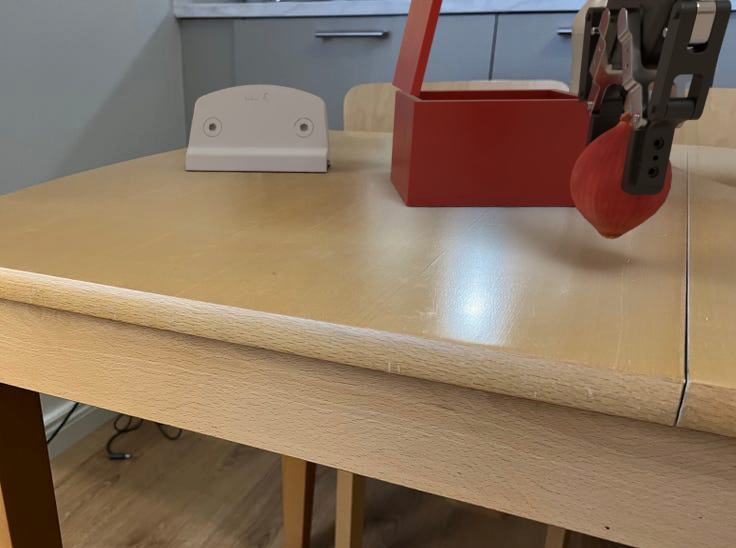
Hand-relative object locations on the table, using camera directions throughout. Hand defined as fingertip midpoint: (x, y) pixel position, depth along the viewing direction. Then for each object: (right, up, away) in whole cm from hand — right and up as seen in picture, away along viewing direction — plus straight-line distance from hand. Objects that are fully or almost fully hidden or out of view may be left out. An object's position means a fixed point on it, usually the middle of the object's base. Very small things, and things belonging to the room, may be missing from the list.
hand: (619, 182), depth 48 cm
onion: (0, -3, +2) cm, 4 cm away
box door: (-8, +21, +18) cm, 29 cm away
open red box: (-1, +5, +25) cm, 25 cm away
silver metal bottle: (+14, +11, +38) cm, 42 cm away
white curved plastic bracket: (-23, +11, +40) cm, 47 cm away
